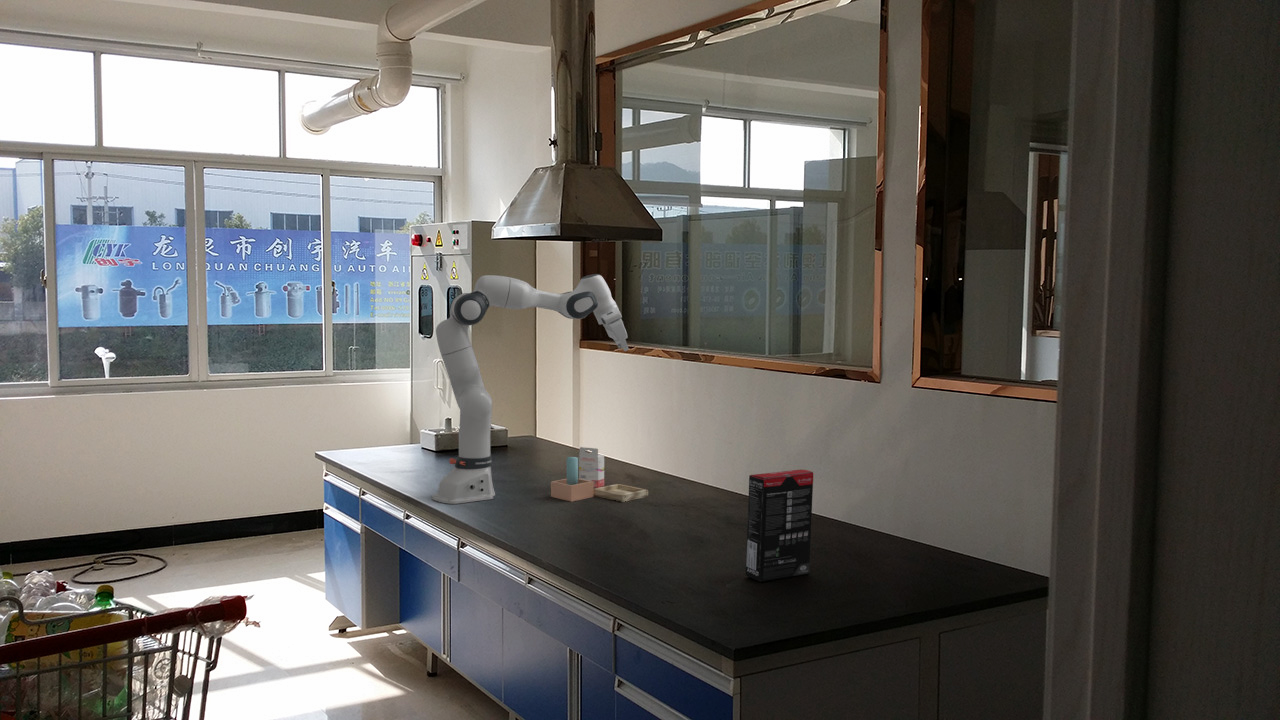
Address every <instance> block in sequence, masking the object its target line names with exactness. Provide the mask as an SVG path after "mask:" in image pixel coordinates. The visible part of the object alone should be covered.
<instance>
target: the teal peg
mask: <svg viewBox="0 0 1280 720" xmlns="http://www.w3.org/2000/svg"><path fill="white" fill-rule="evenodd" d="M578 478H579V456H578V457H576V456H567V457H566V479H567V484H568V485H575V484H578Z"/></svg>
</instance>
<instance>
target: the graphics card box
mask: <svg viewBox="0 0 1280 720" xmlns="http://www.w3.org/2000/svg"><path fill="white" fill-rule="evenodd" d="M748 477H749V479H748V503H747V508H748V509H747V526H746V527H747V528H746V529H747V530H746V531H747V532H746V536H747V537H746V552H745V553H746V556H745V559H746V560H745V576H746V577H748V578H751V579H752V580H755V581H757V582H759V583H762V582H767V581H773V580H779V579H786V578H790V577H791V578H792V577H795V576H796V577H797V576H803V575H807V574H809V573H810V566H811V565H810V562H811V560H810V559H811V539H812V537H811V535H812V517H813V514H812V513H813V494H814V492H813V489H814V471H811V470H807V469H793V470H784V471H777V472H774V471H773V472H766V473H755V474H749V475H748Z"/></svg>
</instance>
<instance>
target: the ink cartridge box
mask: <svg viewBox="0 0 1280 720" xmlns="http://www.w3.org/2000/svg"><path fill="white" fill-rule="evenodd" d="M586 451H587V452H586ZM588 451H589V452H588ZM578 478H579V479H583V480H588V481H593V482H594V489H595V488H600V487H605V455H604V454H599V448H596V447H595V448H594V447H585V446H581V447H579V455H578Z"/></svg>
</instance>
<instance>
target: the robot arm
mask: <svg viewBox="0 0 1280 720" xmlns="http://www.w3.org/2000/svg"><path fill="white" fill-rule="evenodd" d="M490 307H496V308H497V307H498V308H503V309H507V310H508V309H509V310H510V309H511V310H524V309H528V308H540V309H545V310H551V311H555V312H557V313H559V314H560V315H562V316H563V317H565V318H567V319H570V320H572V319H574V320H582V319H585V318H586V317H587V316H588V315H590V314H591V313H593V315H594V316H595V318H596V320H597V323H598V325H602V326H603V327H604V329H605V331H606V333H607V335H608V337H609V338H611V339H613V341H614V343H615V344H616V346H617V348H618V349H622V350H623V351H624V352H627V351H629V349H630V348H629V347H628V343H627V340H626V339H628V333H627V330H626V328H625V325H624V321H623V320H622V318H623V316H622V312H621V311H620V309H619V306H618V304H617V303H616V301H615V300H614V299H613V297H612V293H611V289H610V288H609V286H608V283H607V282H606V280H605V279H604V277H603V276H602V275H601V274H599V273H594V274H593V273H592V274H590V275H589V274H588V275H585V276H582V277H581V278H580V281H579V282H578V284H577V285H576V287H575V289H573V290H572V291H566V292H563V293H555V292H550V291H547V290H546V291H545V290H540V289H537V288H534V287H533V286H532V285H531V284H529V283H528V282H526V281H525V280H522V279H518V278H515V277H510V276H505V275H494V274H493V275H492V274H491V275H489V274H487V275H486V274H485V275H481V276H480V277H479V278H478V279H477V280H476V283H475V285H474V289H473V291H472V292H463V293H459V294H458V295H456V296H455V297H453V299H452V300H451V302H450V306H449V311H448V315H447V319H444V320H442V321H441V322H439V323H438V324H437V325H436V327H435V335H436V336H435V337H436V342H437V346H438V349H439V353H440V355H441V358H442V361H443V364H444V367H445V370H446V372H447V375H448V380H449V382H450V386H451V389H452V391H453V395H454V398H455V401H456V404H457V407H458V408H459V410H460V411H459V428H458V429H459V430H458V456H457V458H453V457H451V458H449V460H448V462H449V464H450V465H454V468H453V469H451V470H450V472H448V474H447V475H445V476H444V477H443V478H442V479H441V480H440V482H439V485H438V493H436V494H432V495H431V500H433V501H435V502H439V503H443V504H450V505H458V504H464V503H465V504H466V503H472V502H473V503H474V502H478V501H479V502H480V501H487V500H493V499H494V497H495V496H496V492H495V489H494V485H493V479H492V462H493V460H492V459H493V458H492V454H491V431H492V430H491V429H492V418H493V398H492V396H491V394H490V393H489V392H488V391H487V389H486V388H485V385H484V381H483V378H482V374H481V369H480V366H479V364H478V360H477V358H476V355H475V354H476V353H475V351H474V349H473V345H472V343H471V341H470V337H469V333H468V332H469V328H470V326H475V325H477V324H479V323H480V322H481V321H482V320H483V319H484V317H485V315H486V313H487V311H488V309H489V308H490Z"/></svg>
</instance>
